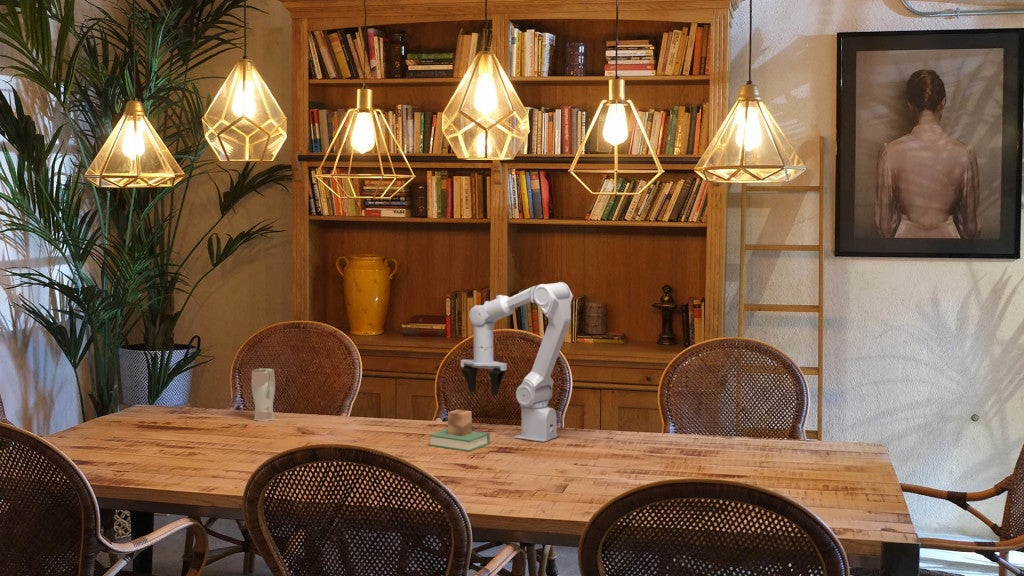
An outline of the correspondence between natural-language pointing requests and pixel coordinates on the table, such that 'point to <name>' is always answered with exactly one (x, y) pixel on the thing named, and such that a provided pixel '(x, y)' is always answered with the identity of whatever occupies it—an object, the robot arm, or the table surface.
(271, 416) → the beer glass
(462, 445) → the green book
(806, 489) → the table surface
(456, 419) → the brown wooden block
